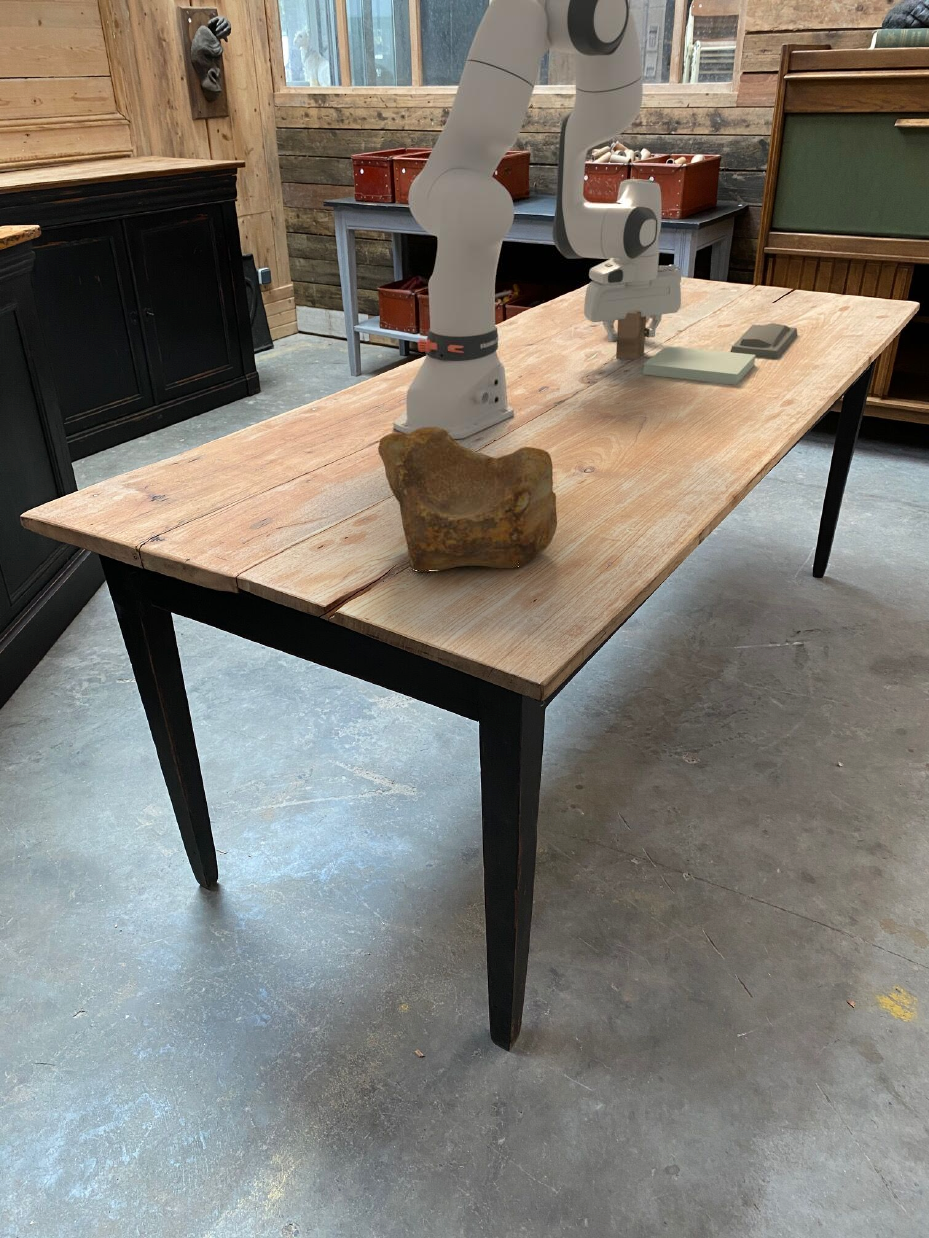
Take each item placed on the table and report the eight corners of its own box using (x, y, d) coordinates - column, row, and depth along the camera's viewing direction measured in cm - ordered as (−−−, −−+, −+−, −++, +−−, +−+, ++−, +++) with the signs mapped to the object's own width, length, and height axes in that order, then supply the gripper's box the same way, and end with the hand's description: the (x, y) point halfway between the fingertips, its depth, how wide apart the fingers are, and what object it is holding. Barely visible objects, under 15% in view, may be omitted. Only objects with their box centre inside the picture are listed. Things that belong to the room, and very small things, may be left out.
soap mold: (798, 337, 203) (800, 321, 202) (778, 361, 188) (780, 344, 187) (750, 333, 208) (752, 317, 206) (727, 356, 193) (729, 339, 191)
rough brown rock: (344, 577, 116) (330, 470, 108) (400, 514, 129) (392, 412, 120) (520, 613, 109) (520, 501, 100) (562, 542, 121) (565, 437, 113)
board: (736, 385, 174) (737, 374, 173) (643, 374, 182) (643, 364, 181) (754, 365, 185) (755, 354, 184) (665, 355, 192) (666, 346, 191)
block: (634, 359, 191) (637, 313, 186) (616, 357, 192) (618, 311, 188) (644, 352, 195) (647, 306, 191) (625, 350, 197) (628, 305, 192)
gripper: (674, 261, 190) (668, 330, 197) (581, 270, 185) (579, 341, 192) (690, 266, 185) (684, 337, 192) (595, 276, 180) (593, 348, 187)
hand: (631, 339), depth 192 cm, fingers closed on block, 7 cm apart
